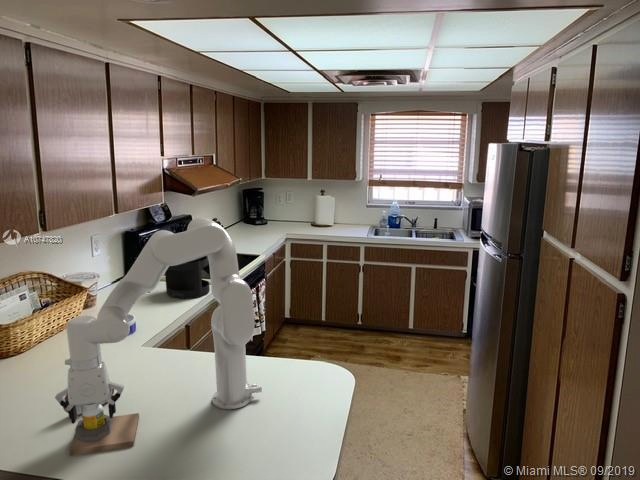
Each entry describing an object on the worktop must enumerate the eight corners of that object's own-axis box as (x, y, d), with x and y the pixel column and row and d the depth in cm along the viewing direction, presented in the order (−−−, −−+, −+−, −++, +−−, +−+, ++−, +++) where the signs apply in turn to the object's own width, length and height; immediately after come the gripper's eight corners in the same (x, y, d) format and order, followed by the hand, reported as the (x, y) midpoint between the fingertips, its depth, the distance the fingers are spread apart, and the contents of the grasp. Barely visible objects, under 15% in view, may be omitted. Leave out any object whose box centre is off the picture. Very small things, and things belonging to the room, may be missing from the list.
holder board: (139, 417, 143) (137, 403, 142) (133, 445, 130) (132, 431, 129) (81, 425, 139) (79, 411, 138) (69, 455, 126) (67, 440, 125)
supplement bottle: (90, 426, 136) (86, 395, 134) (108, 426, 136) (105, 395, 134) (80, 437, 131) (77, 406, 129) (100, 437, 131) (96, 406, 129)
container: (169, 288, 269) (166, 245, 264) (210, 285, 273) (208, 243, 268) (164, 300, 248) (160, 254, 243) (208, 297, 252) (206, 251, 247)
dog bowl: (144, 329, 211) (142, 316, 209) (115, 342, 197) (113, 328, 196) (120, 323, 218) (118, 311, 216) (90, 335, 204) (89, 322, 203)
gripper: (47, 372, 124) (55, 431, 127) (118, 363, 128) (124, 420, 131) (55, 359, 131) (62, 415, 134) (122, 351, 135) (128, 406, 138)
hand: (93, 418), depth 133 cm, fingers open, 9 cm apart
